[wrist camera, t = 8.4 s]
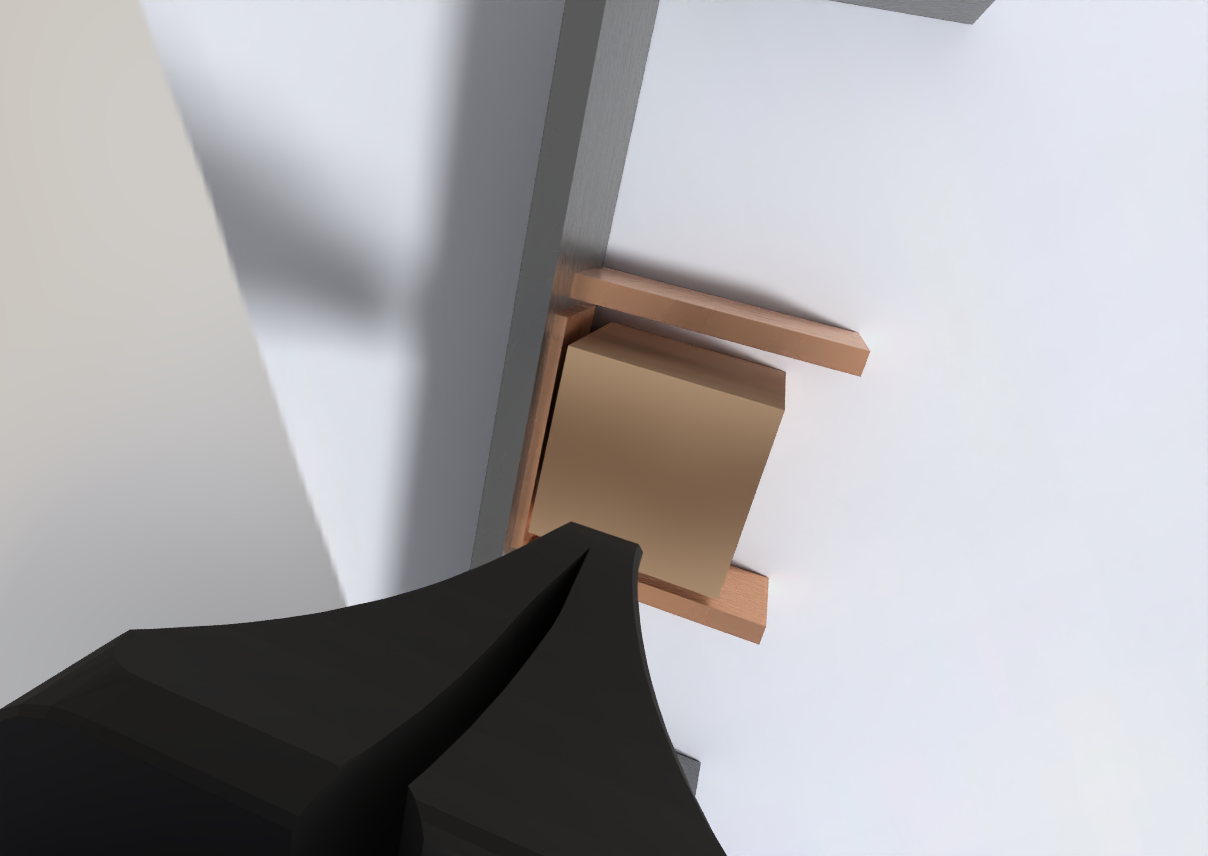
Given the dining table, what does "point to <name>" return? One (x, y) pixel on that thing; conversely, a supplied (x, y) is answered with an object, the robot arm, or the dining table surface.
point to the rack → (620, 289)
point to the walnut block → (659, 450)
